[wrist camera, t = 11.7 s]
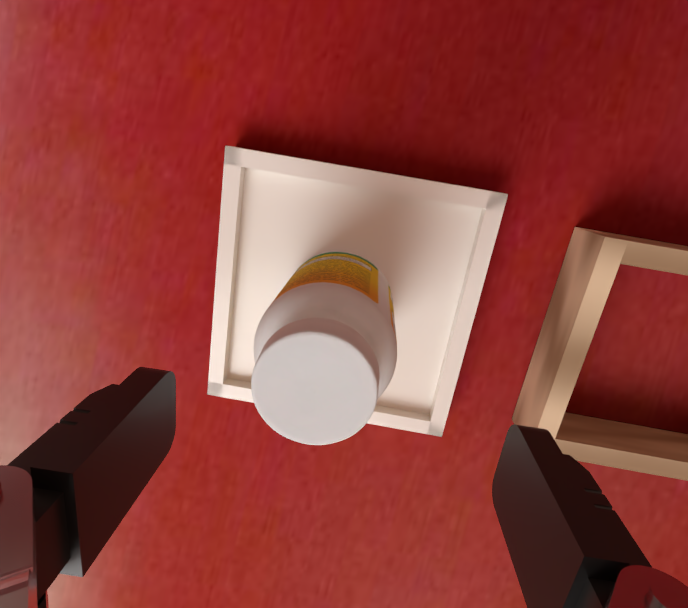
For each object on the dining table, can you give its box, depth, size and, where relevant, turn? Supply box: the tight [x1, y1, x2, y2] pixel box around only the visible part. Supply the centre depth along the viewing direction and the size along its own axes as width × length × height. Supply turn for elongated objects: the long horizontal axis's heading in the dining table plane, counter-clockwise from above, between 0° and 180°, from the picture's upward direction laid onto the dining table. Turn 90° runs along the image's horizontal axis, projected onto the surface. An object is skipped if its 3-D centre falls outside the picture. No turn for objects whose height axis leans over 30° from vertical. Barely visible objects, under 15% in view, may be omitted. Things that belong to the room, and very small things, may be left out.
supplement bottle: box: [251, 251, 397, 445], centre depth 18 cm, size 5×5×10 cm
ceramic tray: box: [207, 146, 508, 437], centre depth 23 cm, size 13×13×2 cm
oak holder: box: [512, 227, 688, 481], centre depth 22 cm, size 11×11×3 cm
